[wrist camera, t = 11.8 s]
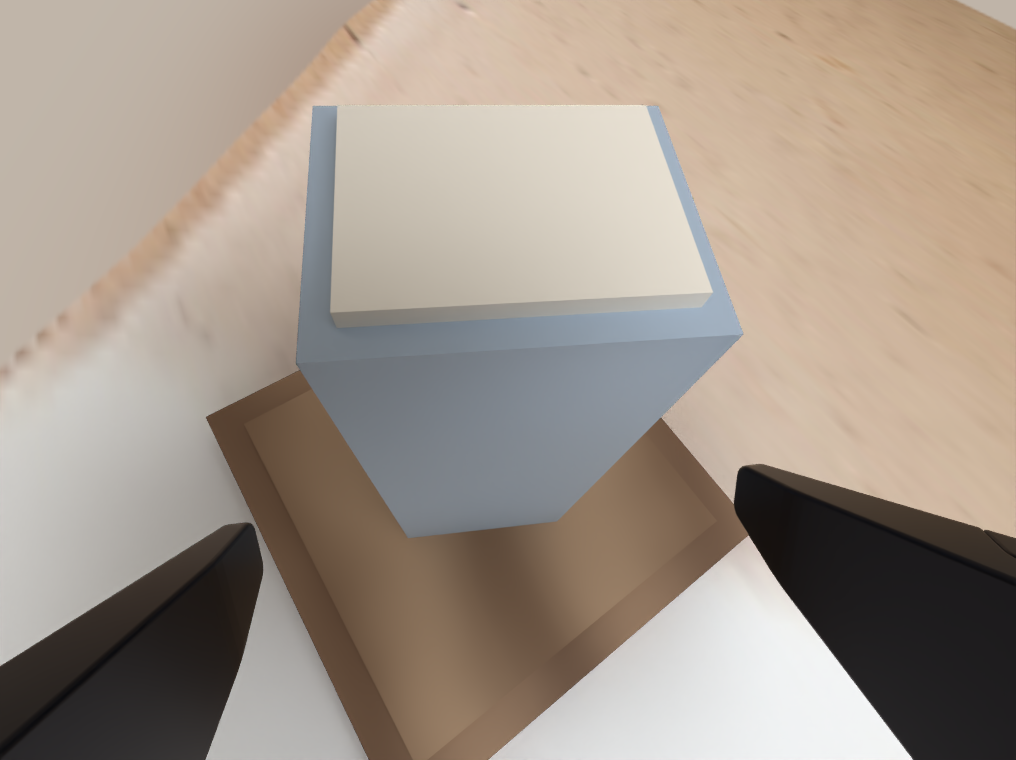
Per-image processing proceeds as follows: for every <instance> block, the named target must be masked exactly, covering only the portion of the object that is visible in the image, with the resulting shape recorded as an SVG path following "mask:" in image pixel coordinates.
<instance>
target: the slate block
mask: <svg viewBox="0 0 1016 760" xmlns="http://www.w3.org/2000/svg"><path fill="white" fill-rule="evenodd" d="M742 335H743V331H742V329H741V326H740V323H739V321H738V318H737V315H736V313H735V310H734V307H733V305H732V302H731V299H730V297H729V294H728V291H727V289H726V286H725V283H724V281H723V278H722V275H721V273H720V270H719V267H718V265H717V262H716V259H715V257H714V254H713V251H712V249H711V246H710V243H709V240H708V238H707V235H706V232H705V230H704V227H703V224H702V222H701V219H700V216H699V214H698V211H697V208H696V206H695V203H694V200H693V198H692V195H691V192H690V190H689V187H688V184H687V182H686V179H685V176H684V174H683V171H682V168H681V166H680V163H679V160H678V158H677V155H676V152H675V150H674V147H673V144H672V142H671V139H670V136H669V134H668V131H667V128H666V126H665V123H664V120H663V118H662V115H661V112H660V110H659V107H658V106H646V105H337V106H313V111H312V127H311V142H310V157H309V172H308V187H307V202H306V217H305V232H304V247H303V263H302V278H301V293H300V308H299V323H298V338H297V353H296V365H297V366H298V368H299V369H300V371H301V372H302V374H303V375H304V377H305V379H306V380H307V382H308V383H309V385H310V386H311V388H312V389H313V391H314V393H315V394H316V396H317V397H318V399H319V400H320V402H321V403H322V405H323V407H324V408H325V410H326V411H327V413H328V414H329V416H330V417H331V419H332V421H333V422H334V424H335V425H336V427H337V428H338V430H339V431H340V433H341V435H342V436H343V438H344V439H345V441H346V442H347V444H348V445H349V447H350V449H351V450H352V452H353V453H354V455H355V456H356V458H357V459H358V461H359V463H360V464H361V466H362V467H363V469H364V470H365V472H366V473H367V475H368V477H369V478H370V480H371V481H372V483H373V484H374V486H375V487H376V489H377V491H378V492H379V494H380V495H381V497H382V498H383V500H384V501H385V503H386V505H387V506H388V508H389V509H390V511H391V512H392V514H393V515H394V517H395V519H396V520H397V522H398V523H399V525H400V526H401V528H402V529H403V531H404V533H405V534H406V536H407V537H408V538H415V537H424V536H432V535H441V534H450V533H459V532H468V531H477V530H486V529H495V528H503V527H512V526H521V525H530V524H539V523H548V522H557V521H558V520H559V519H560V518H561V517H562V516H563V515H564V514H565V513H566V512H567V511H568V510H569V509H570V508H571V507H572V506H573V505H574V504H575V503H576V502H577V501H578V500H579V499H580V498H581V497H582V496H583V495H584V494H585V493H586V492H587V491H588V490H589V489H590V488H591V487H592V486H593V485H594V484H595V483H596V482H597V481H598V480H599V479H600V478H601V477H602V476H603V475H604V474H605V473H606V472H607V471H608V470H609V469H610V468H611V467H612V466H613V465H614V464H615V463H616V462H617V461H618V460H619V459H620V458H621V457H622V456H623V455H624V454H625V453H626V452H627V451H628V450H629V449H630V448H631V447H632V446H633V445H634V444H635V443H636V442H637V441H638V440H639V439H640V438H641V437H642V436H643V435H644V434H645V433H646V432H647V431H648V430H649V429H650V428H651V427H652V426H653V425H654V424H655V423H656V422H657V421H658V420H659V419H660V418H661V417H662V416H663V415H664V414H665V413H666V412H667V411H668V410H669V409H670V408H671V407H672V406H673V405H674V404H675V403H676V402H677V401H678V400H679V399H680V398H681V397H682V395H683V394H684V393H685V392H686V391H687V390H688V389H689V388H690V387H691V386H692V385H693V384H694V383H695V382H696V381H697V380H698V379H699V378H700V377H701V376H702V375H703V374H704V373H705V372H706V371H707V370H708V369H709V368H710V367H711V366H712V365H713V364H714V363H715V362H716V361H717V360H718V359H719V358H720V357H721V356H722V355H723V354H724V353H725V352H726V351H727V350H728V349H729V348H730V347H731V346H732V345H733V344H734V343H735V342H736V341H737V340H738V339H739V338H740V337H741V336H742Z"/></svg>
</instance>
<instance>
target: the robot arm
mask: <svg viewBox="0 0 1016 760" xmlns="http://www.w3.org/2000/svg"><path fill="white" fill-rule="evenodd" d="M734 509H735V512H736V515H737V517H738V519H739V520H740V522H741V523H742V525H743V527H744V528H745V530H746V531H747V533H748V535H749V536H750V538H751V540H752V541H753V543H754V544H755V546H756V548H757V549H758V551H759V552H760V554H761V556H762V557H763V559H764V560H765V562H766V564H767V565H768V567H769V569H770V570H771V572H772V573H773V575H774V576H775V578H776V579H777V581H778V582H779V584H780V585H781V586H782V588H783V589H784V591H785V592H786V593H787V595H788V596H789V597H790V599H791V600H792V601H793V603H794V604H795V605H796V606H797V608H798V609H799V610H800V612H801V613H802V614H803V616H804V617H805V618H806V620H807V621H808V622H809V624H810V625H811V626H812V627H813V629H814V630H815V631H816V633H817V634H818V635H819V637H820V638H821V639H822V641H823V642H824V643H825V645H826V646H827V647H828V648H829V650H830V651H831V652H832V654H833V655H834V656H835V658H836V659H837V660H838V662H839V663H840V664H841V666H842V667H843V668H844V670H845V671H846V672H847V673H848V675H849V676H850V677H851V679H852V680H853V681H854V683H855V684H856V685H857V687H858V688H859V689H860V691H861V692H862V693H863V694H864V696H865V697H866V698H867V700H868V701H869V702H870V704H871V705H872V706H873V708H874V709H875V710H876V712H877V713H878V714H879V715H880V717H881V718H882V719H883V721H884V722H885V723H886V725H887V726H888V727H889V729H890V730H891V731H892V733H893V734H894V735H895V736H896V738H897V739H898V740H899V742H900V743H901V744H902V746H903V747H904V748H905V750H906V751H907V752H908V754H909V755H910V756H911V757H912V759H913V760H1016V538H1013V537H1010V536H1006V535H1003V534H999V533H996V532H993V531H989V530H984V531H983V530H982V529H981V528H979V527H975V526H972V525H968V524H965V523H962V522H958V521H955V520H951V519H948V518H945V517H941V516H938V515H934V514H931V513H928V512H924V511H921V510H917V509H914V508H911V507H907V506H904V505H900V504H897V503H894V502H890V501H887V500H883V499H880V498H877V497H873V496H870V495H866V494H863V493H859V492H856V491H853V490H849V489H846V488H842V487H839V486H836V485H832V484H829V483H825V482H822V481H819V480H815V479H812V478H808V477H805V476H802V475H798V474H795V473H791V472H788V471H785V470H781V469H778V468H774V467H771V466H767V465H764V464H755V465H746V466H742V467H741V468H740V469H739V471H738V475H737V482H736V490H735V498H734ZM262 576H263V562H262V557H261V553H260V548H259V544H258V540H257V536H256V531H255V528H254V527H253V525H252V524H251V523H237V524H228V525H225V526H223V527H221V528H220V529H218V530H216V531H215V532H213V533H212V534H210V535H208V536H207V537H205V538H204V539H202V540H200V541H199V542H197V543H196V544H194V545H192V546H191V547H189V548H188V549H186V550H185V551H183V552H181V553H180V554H178V555H177V556H175V557H173V558H172V559H170V560H169V561H167V562H165V563H164V564H162V565H161V566H159V567H157V568H156V569H154V570H153V571H151V572H149V573H148V574H146V575H145V576H143V577H142V578H140V579H138V580H137V581H135V582H134V583H132V584H130V585H129V586H127V587H126V588H124V589H122V590H121V591H119V592H118V593H116V594H114V595H113V596H111V597H110V598H108V599H106V600H105V601H103V602H102V603H100V604H99V605H97V606H95V607H94V608H92V609H91V610H89V611H87V612H86V613H84V614H83V615H81V616H79V617H78V618H76V619H75V620H73V621H71V622H70V623H68V624H67V625H65V626H63V627H62V628H60V629H59V630H57V631H56V632H54V633H52V634H51V635H49V636H48V637H46V638H44V639H43V640H41V641H40V642H38V643H36V644H35V645H33V646H32V647H30V648H28V649H27V650H25V651H24V652H22V653H20V654H19V655H17V656H16V657H14V658H13V659H11V660H9V661H8V662H6V663H5V664H3V665H1V666H0V760H206V757H207V754H208V751H209V749H210V746H211V743H212V740H213V738H214V735H215V732H216V730H217V727H218V724H219V721H220V719H221V716H222V713H223V711H224V708H225V705H226V702H227V700H228V697H229V694H230V692H231V689H232V686H233V683H234V681H235V678H236V675H237V672H238V669H239V666H240V663H241V660H242V656H243V653H244V649H245V645H246V641H247V637H248V633H249V629H250V625H251V621H252V617H253V613H254V609H255V605H256V601H257V597H258V592H259V588H260V584H261V580H262Z"/></svg>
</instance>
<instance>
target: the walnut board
mask: <svg viewBox="0 0 1016 760" xmlns="http://www.w3.org/2000/svg"><path fill="white" fill-rule="evenodd" d="M206 419H207V421H208V423H209V425H210V427H211V429H212V431H213V433H214V435H215V438H216V440H217V442H218V444H219V446H220V448H221V450H222V452H223V454H224V456H225V459H226V461H227V463H228V465H229V467H230V469H231V471H232V473H233V475H234V477H235V480H236V482H237V484H238V486H239V488H240V490H241V492H242V494H243V496H244V498H245V501H246V503H247V505H248V507H249V509H250V511H251V513H252V515H253V517H254V519H255V522H256V524H257V526H258V528H259V530H260V532H261V534H262V536H263V538H264V540H265V543H266V545H267V547H268V549H269V551H270V553H271V555H272V557H273V559H274V561H275V564H276V566H277V568H278V570H279V572H280V574H281V576H282V578H283V580H284V583H285V585H286V587H287V589H288V591H289V593H290V595H291V597H292V599H293V601H294V604H295V606H296V608H297V610H298V612H299V614H300V616H301V618H302V620H303V622H304V625H305V627H306V629H307V631H308V633H309V635H310V637H311V639H312V641H313V643H314V646H315V648H316V650H317V652H318V654H319V656H320V658H321V660H322V662H323V664H324V667H325V669H326V671H327V673H328V675H329V677H330V679H331V681H332V683H333V685H334V688H335V690H336V692H337V694H338V696H339V698H340V700H341V702H342V704H343V706H344V709H345V711H346V713H347V715H348V717H349V719H350V721H351V723H352V725H353V727H354V730H355V732H356V734H357V736H358V738H359V740H360V742H361V744H362V746H363V748H364V751H365V753H366V755H367V757H368V759H369V760H488V759H489V758H491V757H492V756H493V755H494V754H495V753H496V752H498V751H499V750H500V749H501V748H502V747H503V746H504V745H506V744H507V743H508V742H509V741H510V740H511V739H513V738H514V737H515V736H516V735H517V734H518V733H520V732H521V731H522V730H523V729H524V728H525V727H527V726H528V725H529V724H530V723H531V722H532V721H533V720H535V719H536V718H537V717H538V716H539V715H540V714H542V713H543V712H544V711H545V710H546V709H547V708H549V707H550V706H551V705H552V704H553V703H554V702H556V701H557V700H558V699H559V698H560V697H561V696H562V695H564V694H565V693H566V692H567V691H568V690H569V689H571V688H572V687H573V686H574V685H575V684H576V683H578V682H579V681H580V680H581V679H582V678H583V677H585V676H586V675H587V674H588V673H589V672H590V671H591V670H593V669H594V668H595V667H596V666H597V665H598V664H600V663H601V662H602V661H603V660H604V659H605V658H607V657H608V656H609V655H610V654H611V653H612V652H614V651H615V650H616V649H617V648H618V647H619V646H620V645H622V644H623V643H624V642H625V641H626V640H627V639H629V638H630V637H631V636H632V635H633V634H634V633H636V632H637V631H638V630H639V629H640V628H641V627H643V626H644V625H645V624H646V623H647V622H648V621H649V620H651V619H652V618H653V617H654V616H655V615H656V614H658V613H659V612H660V611H661V610H662V609H663V608H665V607H666V606H667V605H668V604H669V603H670V602H671V601H673V600H674V599H675V598H676V597H677V596H678V595H680V594H681V593H682V592H683V591H684V590H685V589H687V588H688V587H689V586H690V585H691V584H692V583H694V582H695V581H696V580H697V579H698V578H699V577H700V576H702V575H703V574H704V573H705V572H706V571H707V570H709V569H710V568H711V567H712V566H713V565H714V564H716V563H717V562H718V561H719V560H720V559H721V558H723V557H724V556H725V555H726V554H727V553H728V552H729V551H731V550H732V549H733V548H734V547H735V546H736V545H738V544H739V543H740V542H741V541H742V540H743V539H745V538H746V537H747V536H748V533H747V531H746V530H745V528H744V527H743V525H742V523H741V522H740V520H739V519H738V517H737V515H736V512H735V509H734V504H733V503H732V502H731V500H730V499H729V498H728V497H727V496H726V494H725V493H724V492H723V491H722V490H721V488H720V487H719V486H718V485H717V484H716V482H715V481H714V480H713V479H712V478H711V477H710V475H709V474H708V473H707V472H706V471H705V469H704V468H703V467H702V466H701V465H700V463H699V462H698V461H697V460H696V459H695V458H694V456H693V455H692V454H691V453H690V452H689V450H688V449H687V448H686V447H685V446H684V444H683V443H682V442H681V441H680V440H679V438H678V437H677V436H676V435H675V434H674V433H673V431H672V430H671V429H670V428H669V427H668V425H667V424H666V423H665V422H664V421H663V419H662V418H660V419H659V420H658V421H657V422H656V423H655V424H654V425H653V426H652V427H651V428H650V429H649V430H648V431H647V432H646V433H645V434H644V435H643V436H642V437H641V438H640V439H639V440H638V441H637V442H636V443H635V444H634V445H633V446H632V447H631V448H630V449H629V450H628V451H627V452H626V453H625V454H624V455H623V456H622V457H621V458H620V459H619V460H618V461H617V462H616V463H615V464H614V465H613V466H612V467H611V468H610V469H609V470H608V471H607V472H606V473H605V474H604V475H603V476H602V477H601V478H600V479H599V480H598V481H597V482H596V483H595V484H594V485H593V486H592V487H591V488H590V489H589V490H588V491H587V492H586V493H585V494H584V495H583V496H582V497H581V498H580V499H579V500H578V501H577V502H576V503H575V504H574V505H573V506H572V507H571V508H570V509H569V510H568V511H567V512H566V513H565V514H564V515H563V516H562V517H561V518H560V519H559V520H558V521H557V522H548V523H539V524H530V525H521V526H512V527H503V528H495V529H486V530H477V531H468V532H459V533H450V534H441V535H432V536H424V537H415V538H408V537H407V536H406V534H405V533H404V531H403V529H402V528H401V526H400V525H399V523H398V522H397V520H396V519H395V517H394V515H393V514H392V512H391V511H390V509H389V508H388V506H387V505H386V503H385V501H384V500H383V498H382V497H381V495H380V494H379V492H378V491H377V489H376V487H375V486H374V484H373V483H372V481H371V480H370V478H369V477H368V475H367V473H366V472H365V470H364V469H363V467H362V466H361V464H360V463H359V461H358V459H357V458H356V456H355V455H354V453H353V452H352V450H351V449H350V447H349V445H348V444H347V442H346V441H345V439H344V438H343V436H342V435H341V433H340V431H339V430H338V428H337V427H336V425H335V424H334V422H333V421H332V419H331V417H330V416H329V414H328V413H327V411H326V410H325V408H324V407H323V405H322V403H321V402H320V400H319V399H318V397H317V396H316V394H315V393H314V391H313V389H312V388H311V386H310V385H309V383H308V382H307V380H306V379H305V377H304V375H303V374H302V372H301V371H300V370H299V371H297V372H295V373H293V374H291V375H289V376H287V377H285V378H283V379H281V380H279V381H277V382H275V383H273V384H271V385H269V386H267V387H265V388H263V389H261V390H259V391H257V392H255V393H253V394H251V395H249V396H247V397H245V398H243V399H241V400H239V401H237V402H235V403H233V404H231V405H229V406H227V407H225V408H223V409H221V410H219V411H217V412H215V413H213V414H211V415H209V416H207V417H206Z"/></svg>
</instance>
